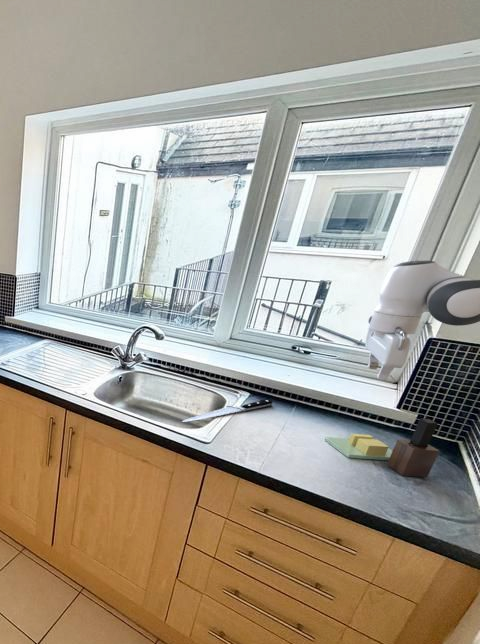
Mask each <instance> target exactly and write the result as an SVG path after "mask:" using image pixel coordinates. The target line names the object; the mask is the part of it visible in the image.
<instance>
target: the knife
mask: <svg viewBox="0 0 480 644" xmlns="http://www.w3.org/2000/svg"><path fill="white" fill-rule="evenodd" d="M438 425H439V423H437V422H436V421H434V420H432V419H430V418H419V420H418V422H417V424H416V426H415V429H414V432H413V433H412V436H411V438H410V440H411V441H410V443H412V444H410V445H411V446H417V447H426V448H427V446H428V444H429V445H430V441H431V440H432V438H433V435H434V433H435V431H436V429H437V427H438Z"/></svg>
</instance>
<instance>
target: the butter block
mask: <svg viewBox="0 0 480 644" xmlns="http://www.w3.org/2000/svg"><path fill="white" fill-rule="evenodd" d="M355 448H357V449H358V450H359V451H361V452H362V453H364V454H365V455H376V456H385V455H386V452H387V450H388V448H389V445H387V444H385V443H383V442H382V441H380V440H379V439H374V438H373V439H358V441H357V444H356V446H355ZM389 449H390V448H389Z"/></svg>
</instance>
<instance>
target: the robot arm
mask: <svg viewBox="0 0 480 644" xmlns="http://www.w3.org/2000/svg"><path fill="white" fill-rule="evenodd" d="M386 274H387V275H386V276H385V278H384V280H383V283H382V286H381V288H380V292H379V302H378V304H377V306H376V307H375V308H374V310H373V313H372V315H369V317H368V319H367V323H368V329H367V333H366V337H365V345H364V346H365V349H367V351H369V354H368V355H369V356H368V363H367V368H369V369H370V370H378V367H379V365H380V363H381V365H380V366H381V368H380V370H378V372H377V375H376V377H377V379H378V380H380V381H387V380H388V378H389V376H390V374H391V373H392V371H393V370H394V368H395V369H402V368H403V367H404V366H405V364H406V362H407V358H408V354H409V352H410V347H411V339H410V338H409V337H408V335H414V334H416V332H417V329H418V326H419V324H420V322H421V319H422V316H423V314H424V313H429V314H430V316H432V318H434V320H436V321H437V322H439V323H441V324H444V325H449V326H454V327H455V326H456V327H457V326H469V325H473V324H477V323H480V279H475V278H472V277H469V276H466V275H462V274H459V273H456V272H454V271H451V270H449V269H447V268H445V267H443V266H441V265H439V264H438V263H437V262H436V261H434V260H427V259H426V260H411V261H405V262H400V263H398V264H395V265H394V266H393V267H391V268H390V270H389V271H388V273H386Z"/></svg>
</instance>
